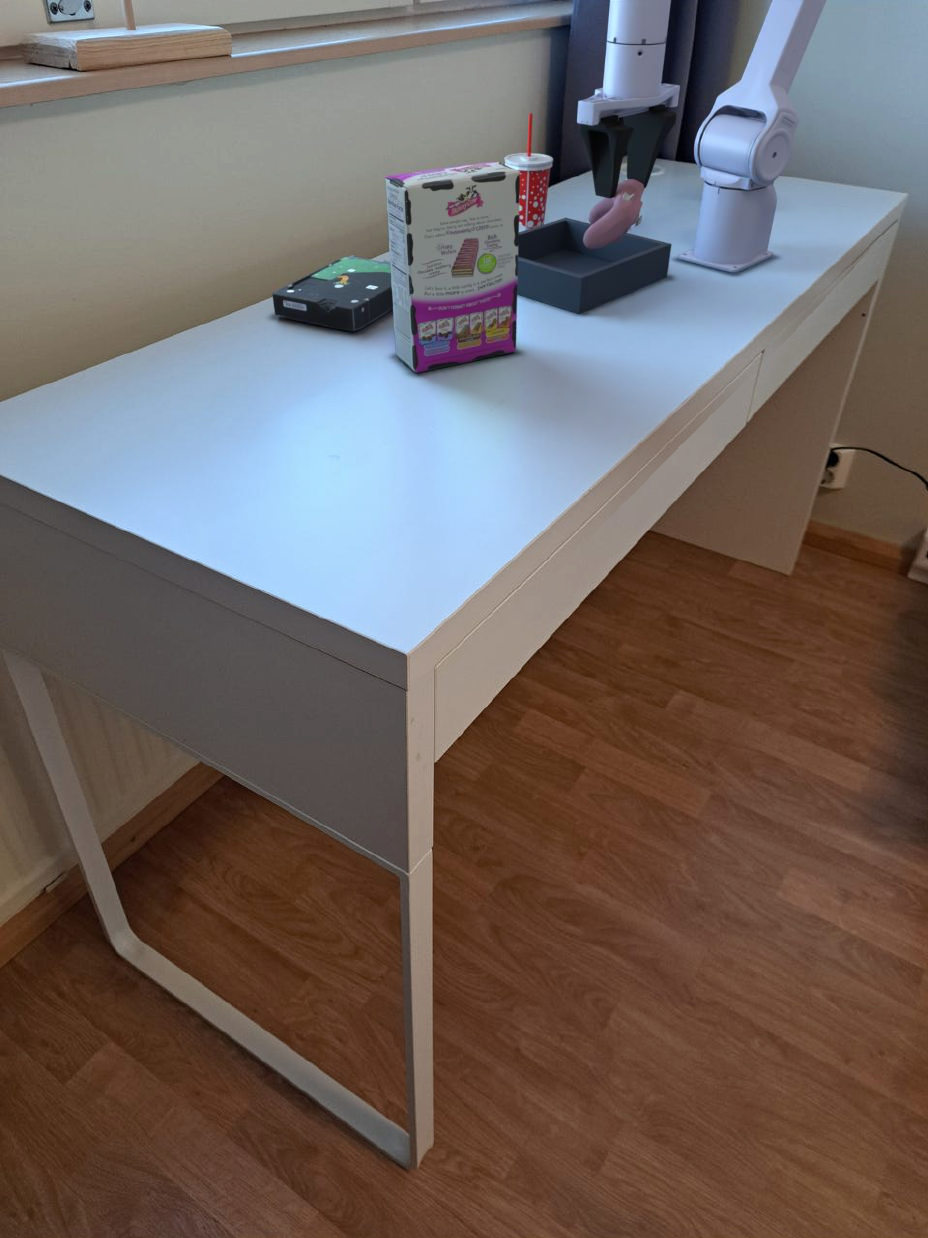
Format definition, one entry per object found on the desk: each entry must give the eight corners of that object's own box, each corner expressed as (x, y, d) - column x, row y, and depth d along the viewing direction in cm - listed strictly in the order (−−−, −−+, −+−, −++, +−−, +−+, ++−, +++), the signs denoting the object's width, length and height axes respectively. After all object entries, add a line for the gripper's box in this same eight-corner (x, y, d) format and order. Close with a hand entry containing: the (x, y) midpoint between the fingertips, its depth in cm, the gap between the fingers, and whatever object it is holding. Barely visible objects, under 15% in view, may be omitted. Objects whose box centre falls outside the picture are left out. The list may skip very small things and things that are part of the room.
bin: (563, 249, 116) (565, 217, 113) (667, 277, 107) (671, 243, 105) (473, 280, 106) (473, 246, 104) (579, 313, 98) (582, 277, 96)
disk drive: (357, 336, 93) (426, 289, 104) (355, 309, 91) (425, 264, 102) (273, 319, 97) (348, 276, 107) (269, 292, 95) (346, 251, 105)
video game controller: (616, 266, 97) (653, 204, 92) (578, 245, 96) (614, 181, 92) (619, 239, 104) (654, 180, 100) (585, 218, 104) (618, 159, 99)
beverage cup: (549, 226, 124) (556, 109, 115) (548, 239, 119) (555, 118, 110) (504, 224, 124) (507, 108, 115) (501, 238, 119) (504, 117, 111)
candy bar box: (492, 336, 93) (496, 158, 83) (517, 353, 89) (524, 170, 79) (391, 356, 89) (382, 172, 79) (413, 374, 85) (406, 185, 75)
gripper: (646, 31, 95) (631, 173, 104) (556, 44, 87) (548, 196, 96) (704, 37, 92) (684, 183, 100) (616, 51, 83) (602, 209, 92)
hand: (621, 191), depth 98 cm, fingers closed on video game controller, 5 cm apart
